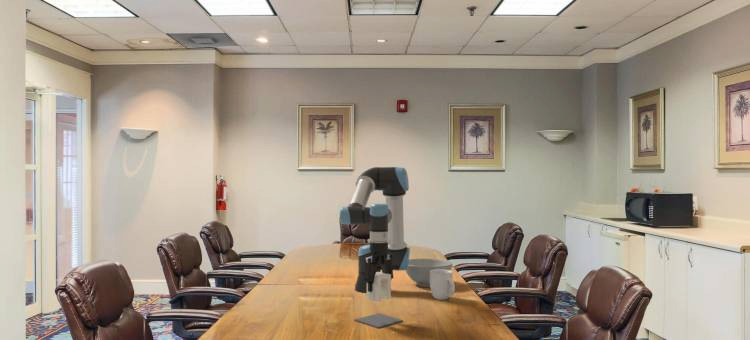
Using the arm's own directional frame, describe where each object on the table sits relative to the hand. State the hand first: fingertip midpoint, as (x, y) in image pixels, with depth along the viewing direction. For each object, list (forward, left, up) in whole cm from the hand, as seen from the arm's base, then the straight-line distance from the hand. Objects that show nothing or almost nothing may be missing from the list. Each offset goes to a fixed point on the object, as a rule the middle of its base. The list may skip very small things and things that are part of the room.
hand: (378, 298), depth 209 cm
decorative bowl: (-33, +68, -10) cm, 76 cm away
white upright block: (0, 0, 0) cm, 0 cm away
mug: (-7, +49, -10) cm, 51 cm away
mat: (0, 0, -9) cm, 9 cm away
